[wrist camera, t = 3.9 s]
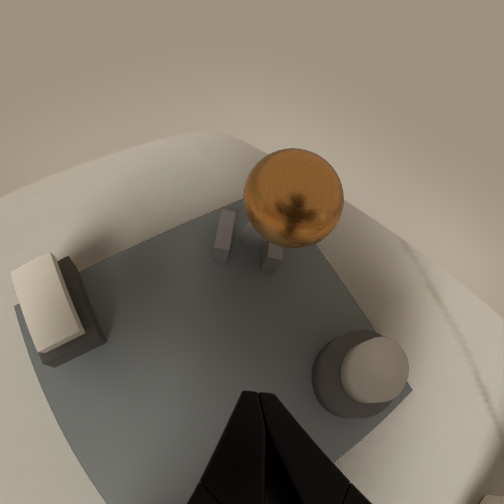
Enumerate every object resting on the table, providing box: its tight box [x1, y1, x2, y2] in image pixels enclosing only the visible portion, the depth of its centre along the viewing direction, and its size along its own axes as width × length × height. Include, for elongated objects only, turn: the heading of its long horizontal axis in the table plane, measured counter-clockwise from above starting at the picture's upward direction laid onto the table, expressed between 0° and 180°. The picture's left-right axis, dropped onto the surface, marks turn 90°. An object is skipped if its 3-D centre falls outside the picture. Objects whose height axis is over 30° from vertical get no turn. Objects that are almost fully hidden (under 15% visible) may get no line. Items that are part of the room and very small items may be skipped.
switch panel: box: [14, 199, 412, 504], centre depth 15 cm, size 16×18×3 cm
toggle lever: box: [239, 148, 344, 251], centre depth 12 cm, size 3×3×11 cm
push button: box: [340, 337, 409, 403], centre depth 14 cm, size 3×3×1 cm
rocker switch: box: [10, 251, 85, 353], centre depth 12 cm, size 4×2×1 cm, turn 31°
